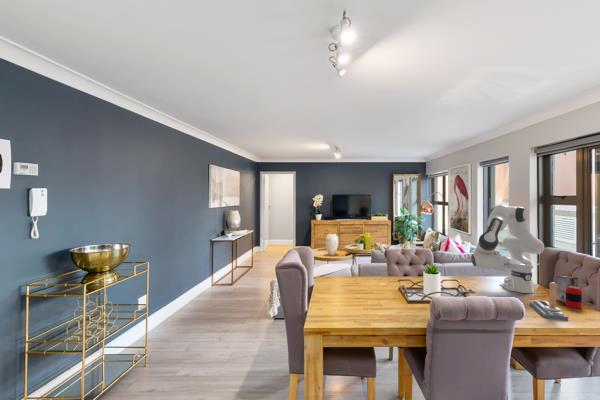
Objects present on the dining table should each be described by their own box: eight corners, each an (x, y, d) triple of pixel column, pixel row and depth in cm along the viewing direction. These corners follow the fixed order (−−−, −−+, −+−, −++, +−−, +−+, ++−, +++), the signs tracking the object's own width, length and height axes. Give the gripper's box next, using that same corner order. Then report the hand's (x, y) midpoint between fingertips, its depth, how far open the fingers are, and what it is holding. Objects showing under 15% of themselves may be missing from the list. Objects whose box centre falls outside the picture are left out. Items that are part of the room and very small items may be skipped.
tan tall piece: (543, 309, 183) (544, 280, 183) (557, 311, 181) (557, 281, 181) (547, 312, 178) (548, 282, 178) (561, 314, 176) (562, 284, 176)
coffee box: (567, 298, 210) (568, 275, 210) (577, 302, 204) (578, 277, 204) (556, 299, 209) (556, 275, 208) (566, 302, 202) (566, 278, 202)
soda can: (564, 306, 196) (565, 287, 196) (566, 303, 201) (566, 284, 201) (580, 309, 191) (581, 290, 191) (581, 306, 196) (582, 287, 196)
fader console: (529, 304, 197) (530, 299, 197) (550, 307, 194) (551, 301, 194) (544, 317, 177) (544, 311, 177) (568, 320, 173) (568, 314, 173)
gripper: (507, 260, 177) (536, 263, 173) (497, 254, 197) (523, 256, 192) (507, 271, 177) (536, 274, 173) (497, 264, 197) (522, 267, 192)
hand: (529, 265), depth 183 cm, fingers open, 8 cm apart
